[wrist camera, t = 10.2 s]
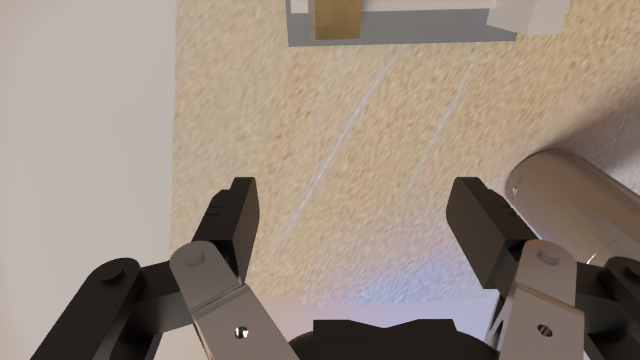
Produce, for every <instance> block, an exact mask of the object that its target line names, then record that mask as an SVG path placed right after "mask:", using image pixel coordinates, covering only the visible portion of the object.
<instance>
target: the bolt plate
mask: <svg viewBox="0 0 640 360" xmlns="http://www.w3.org/2000/svg"><path fill="white" fill-rule="evenodd" d="M570 2H571V0H362V5H361V27H360V39H341V40H309V15H308V0H286V14H287V28H288V43H289V47H296V46H334V45H373V44H411V43H450V42H489V41H515V39H516V36H517V33H520V34H524V35H549V34H559V31H560V29H561V26H562V23H563V21H564V18H565V15H566V13H567V10H568V7H569V4H570Z"/></svg>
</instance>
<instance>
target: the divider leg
mask: <svg viewBox="0 0 640 360" xmlns="http://www.w3.org/2000/svg"><path fill="white" fill-rule="evenodd" d="M361 5H362V0H308V15H309V40H341V39H360V27H361Z"/></svg>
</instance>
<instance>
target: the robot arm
mask: <svg viewBox="0 0 640 360" xmlns="http://www.w3.org/2000/svg"><path fill="white" fill-rule="evenodd" d="M505 193H506V196H507V199H508V200H509V201H510V202H511V204H512V205H513V206H514V207H515V208H516V209H517V210H518V212H519V213H520V214H521V215H522V216H523V217H524V218H525V220H526V221H527V222H528V223H529V224H530V225H531V226H532V228H533V229H534V230H535V231H536V232H537V233H538V234H539V235H540V237H541V238H542V239H543V240H540V239H539V238H538V237H537V236H536V235H535V234H534V233H533V231H532V230H531V229H530V228H529V227H528V226H527V224H526V223H525V222H524V221H523V220H522V219H521V217H520V216H519V215H517V213H516V212H515V210H514V209H513V208H511V206H510V205H509V203H508V202H507V201H506V200H505V199H504V198H503V197H502V196H501V195H499V194H498V193H496V192H494V191H493V190H491V189H488V188H487V187H486V186H485V185H484V184H483V182H482V181H481V180H480V179H479V178H478V177H457V178H456V179H455V180H454V183H453V186H452V190H451V193H450V197H449V200H448V204H447V208H446V219H447V222H448V224H449V226H450V228H451V230H452V232H453V233H454V235H455V237H456V239H457V241H458V243H459V245H460V246H461V248H462V250H463V252H464V254H465V256H466V258H467V259H468V261H469V263H470V265H471V267H472V269H473V271H474V272H475V274H476V276H477V278H478V280H479V282H480V284H481V285H482V287H483V289H498V291H499V293H500V294H499V296H498V298H497V300H496V304H495V307H494V310H493V314H492V317H491V320H490V323H489V327H488V330H487V333H486V336H485V339H484V342H483V341H481V340H479V339H477V338H475V337H473V336H471V335H468V334H466V333H462V332H459V331H457V330H456V327H455V325H454V322H453V320H452V319H417V320H414V321H410V322H407V323H403V324H400V325H395V326H392V327H388V328H381V327H376V326H372V325H368V324H364V323H360V322H355V321H351V320H314V321H313V331H311V332H307V333H305V334H302V335H300V336H298V337H296V338H294V339H292V340H291V341H289V342H287V341H286V339H285V338H284V336H283V335H282V334H281V332H280V331H279V329H278V328H277V326H276V325H275V323H274V322H273V320H272V319H271V317H270V316H269V315H268V313H267V312H266V310H265V309H264V307H263V306H262V305H261V303H260V302H259V300H258V299H257V297H256V296H255V294H254V293H253V291H252V290H251V289H250V287H249V286H248V285H247V284H246V283H244V282H245V278H246V274H247V270H248V265H249V261H250V257H251V253H252V249H253V245H254V241H255V236H256V232H257V228H258V224H259V216H260V211H259V202H258V195H257V187H256V181H255V178H254V177H235V178H234V180H233V183H232V185H231V188H230V190H221V191H220V192H218V193H217V194H216V195H215V196H214V197H213V198H212V200H211V202H210V204H209V206H208V208H207V210H206V212H205V216H203V218H202V221H201V223H200V225H199V227H198V229H197V231H196V233H195V235H194V237H193V239H192V241H191V242H190V243H188V244H185V245H183V246H182V247H180V248H179V249H177V250H176V251H175V252H174V253H173V255H172V256H171V258H170V260H168V261H166V262H162V263H158V264H154V265H150V266H146V267H142V268H141V267H140V265H139V263H138V262H137V261H136V260H135V259H132V258H119V259H114V260H111V261H109V262H106V263H104V264H102V265H101V266H99V267H98V268H96V269H95V270H94V271H93V272H92V273H91V274H90V275H89V276H88V277H87V279H86V280H85V282H84V283H83V285H82V286H81V287H80V289H79V290H78V292H77V293H76V295H75V296H74V297H73V299H72V300H71V302H70V303H69V305H68V306H67V307H66V309H65V310H64V312H63V313H62V315H61V316H60V317H59V319H58V320H57V322H56V323H55V325H54V326H53V327H52V329H51V330H50V332H49V333H48V335H47V336H46V338H45V339H44V340H43V342H42V343H41V345H40V346H39V347H38V349H37V350H36V352H35V353H34V355H33V356H32V357H31V359H30V360H153V359H154V356H155V354H156V351H157V348H158V346H159V343H160V340H161V338H162V335H163V333H164V332H167V331H170V330H173V329H176V328H180V327H183V326H186V325H190V324H193V327H194V329H195V331H196V333H197V336H198V338H199V340H200V342H201V345H202V347H203V349H204V351H205V354H206V356H207V358H208V360H583V350H584V351H585V352H586V354H587V355H588V357H589V358H590V360H640V195H638V194H637V193H635V192H634V191H632V190H631V189H629V188H628V187H626V186H625V185H623V184H621V183H620V182H618V181H617V180H615V179H614V178H612V177H611V176H609V175H608V174H606V173H605V172H603V171H602V170H600V169H599V168H597V167H596V166H594V165H593V164H591V163H590V162H588V161H587V160H585V159H579V158H577V157H576V156H574V155H573V154H571V153H569V152H567V151H563V150H549V151H544V152H541V153H538V154H535V155H533V156H531V157H530V158H528V159H526V160H525V161H523V162H522V163H521V164H520V165H518V166H517V167H516V168H515V169H514V171H513V172H512V173H511V175H510V176H509V178H508V180H507V183H506V187H505Z"/></svg>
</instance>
